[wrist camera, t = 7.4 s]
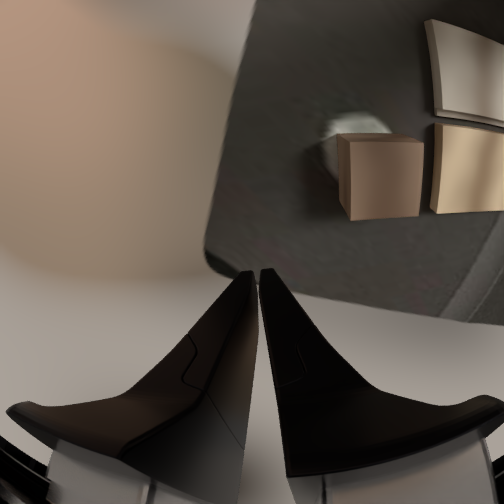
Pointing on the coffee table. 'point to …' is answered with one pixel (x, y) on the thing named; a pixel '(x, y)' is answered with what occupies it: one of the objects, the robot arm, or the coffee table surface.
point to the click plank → (467, 170)
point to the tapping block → (379, 175)
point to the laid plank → (466, 74)
